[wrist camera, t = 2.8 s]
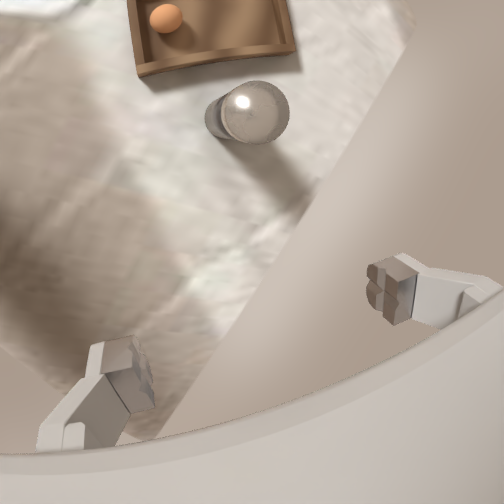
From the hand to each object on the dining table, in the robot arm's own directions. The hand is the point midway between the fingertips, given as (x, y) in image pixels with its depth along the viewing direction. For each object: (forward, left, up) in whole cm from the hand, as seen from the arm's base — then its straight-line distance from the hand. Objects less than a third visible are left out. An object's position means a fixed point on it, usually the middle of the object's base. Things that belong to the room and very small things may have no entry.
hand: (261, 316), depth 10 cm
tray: (+6, +19, -29) cm, 35 cm away
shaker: (+6, +6, -29) cm, 31 cm away
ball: (+1, +19, -29) cm, 34 cm away
